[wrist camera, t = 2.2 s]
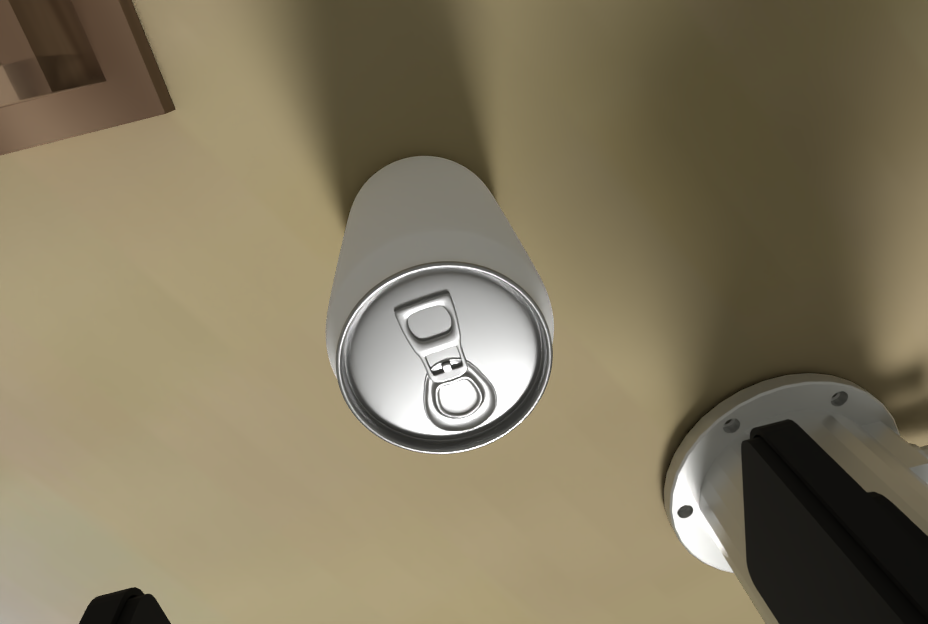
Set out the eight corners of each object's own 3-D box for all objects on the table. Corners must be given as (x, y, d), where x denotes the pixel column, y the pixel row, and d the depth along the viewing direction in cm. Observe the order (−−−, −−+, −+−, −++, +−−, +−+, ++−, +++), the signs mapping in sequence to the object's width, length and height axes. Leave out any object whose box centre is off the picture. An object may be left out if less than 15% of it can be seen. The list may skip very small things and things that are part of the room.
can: (380, 318, 29) (373, 496, 18) (323, 183, 26) (274, 297, 15) (517, 271, 29) (594, 423, 18) (473, 130, 26) (532, 207, 15)
